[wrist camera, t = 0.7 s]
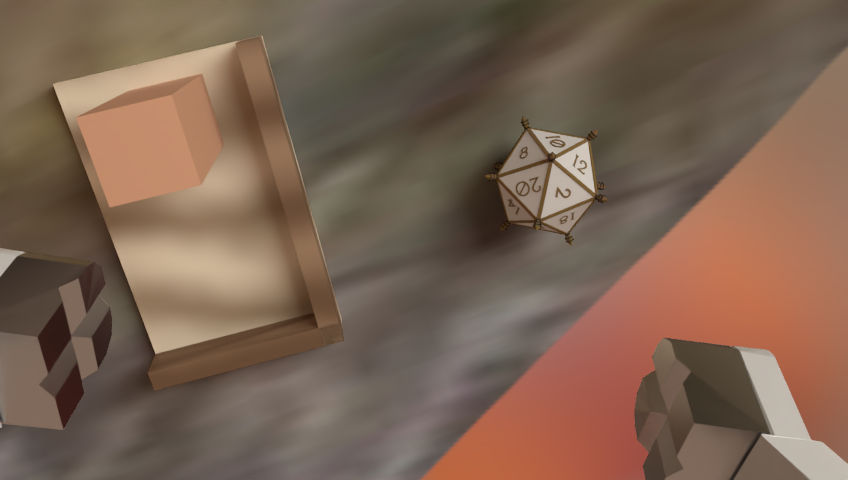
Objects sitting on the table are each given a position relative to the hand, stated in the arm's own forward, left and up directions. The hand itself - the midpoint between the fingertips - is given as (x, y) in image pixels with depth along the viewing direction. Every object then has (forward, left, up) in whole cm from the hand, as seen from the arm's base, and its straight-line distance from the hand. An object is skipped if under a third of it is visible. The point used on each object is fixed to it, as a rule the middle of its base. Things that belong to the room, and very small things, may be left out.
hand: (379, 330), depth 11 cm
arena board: (+8, -10, -44) cm, 46 cm away
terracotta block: (+1, -10, -43) cm, 44 cm away
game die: (+11, +14, -44) cm, 47 cm away
